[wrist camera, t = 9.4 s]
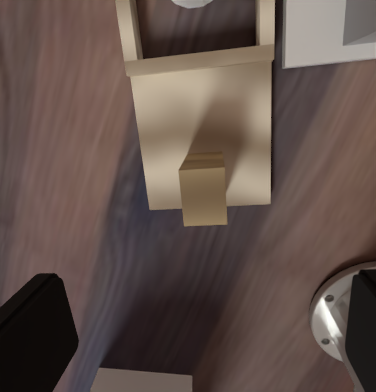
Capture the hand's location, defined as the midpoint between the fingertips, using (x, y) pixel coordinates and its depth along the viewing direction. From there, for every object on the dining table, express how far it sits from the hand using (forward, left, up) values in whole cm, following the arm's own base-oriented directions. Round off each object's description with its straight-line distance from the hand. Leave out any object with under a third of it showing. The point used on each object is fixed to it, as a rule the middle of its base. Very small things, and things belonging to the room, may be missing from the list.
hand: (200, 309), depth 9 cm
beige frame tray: (+9, 0, -17) cm, 19 cm away
